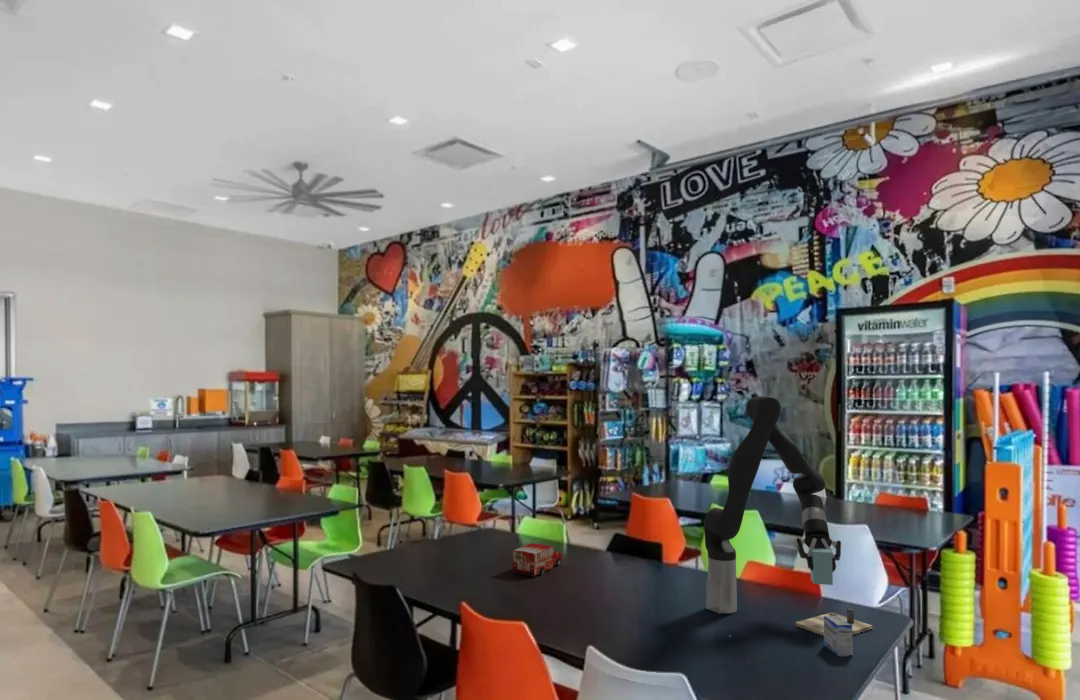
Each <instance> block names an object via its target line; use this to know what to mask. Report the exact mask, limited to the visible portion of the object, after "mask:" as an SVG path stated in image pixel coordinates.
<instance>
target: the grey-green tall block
mask: <svg viewBox="0 0 1080 700" xmlns="http://www.w3.org/2000/svg"><path fill="white" fill-rule="evenodd" d="M831 551H832V550H831ZM831 551H830V549H826V548H811V557H812V562H813V571H811V570H810V581H811V582H812V583H813V585H814V584H815V585H828V586H829V585H830V586H832V585H833V584H834V583H833V581H834V579H833V577H834V576H833V573H834V572H832V553H833V551H832V552H831Z"/></svg>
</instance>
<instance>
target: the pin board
mask: <svg viewBox="0 0 1080 700" xmlns="http://www.w3.org/2000/svg"><path fill="white" fill-rule="evenodd" d="M854 611H855V610H854V608H846V616H845V615H842V614H838V613H835V612H828V613H825V614H821V615H818V616H814V617H810V618H806V619H802V620H798V621H795V627H797V628H799V627H800V629H802V628H803V630H805V629H806V631H808V630H809V631H808V632H810V631H812V632H811V633H813V632H814V634H816V633H817V634H816V635H818V634H820V635H819V636H821V635H823V636H822V637H824V616H838V617H840V618H841V619H843V620H844V621H846V622H847V623H849V624H850V625H852V635H853V636H855V635H854V634H856V633H859V634H861V633H860V632H863V631H866V632H868V631H867V630H869V631H871V630H870V629H872V630H873V625H872V624H870V623H865V622H863V621H859V620H857V619H855V612H854ZM863 633H864V632H863ZM856 635H857V634H856Z"/></svg>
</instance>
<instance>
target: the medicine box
mask: <svg viewBox="0 0 1080 700" xmlns="http://www.w3.org/2000/svg"><path fill="white" fill-rule="evenodd" d="M823 645H824V647H825V646H826V647H827V648H826V647H825V648H826V649H828V650H829V649H830V650H831V651H830V650H829V651H830V652H832V653H833V652H834V653H833V654H835V655H836V656H837V657H849V656H848V655H853V652H854V651H853V649H854V647H853V636H852V625H850V624H849V623H847V622H846V621H844V620H843V619H841V618H840V617H838V616H824V636H823Z"/></svg>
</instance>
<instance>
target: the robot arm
mask: <svg viewBox="0 0 1080 700" xmlns="http://www.w3.org/2000/svg"><path fill="white" fill-rule="evenodd" d="M781 407H782V406H781V403H780V401H779V400H778V398H776V397H774V396H771V395H770V396H769V395H761V396H759V395H758V396H754V397H750V398H749V399H748V401H747V402H746V404H745V412H746V415H747V416H748V418H749V419H750V420H751V421H752V425H751V428H750V429H749V431H748V433H747V435H746V436H745V437H744V439H743V440H742V441H741V442H740V443H739V445H738V446H737V447H736V449H735V451H734V452H733V455H732V457H731V461H730V463H729V466H728V469H727V481H728V483H727V484H728V494H727V497H726V498H727V499H726V501H725V504H724V506H723V508H719V507H714V508H711V509H709V510H708V511H707V513H706V514H705V517H704V522H703V524H704V525H703V527H704V528H703V529H704V545H705V549H706V551H707V579H706V580H705V600H706V601H705V602H706V603H705V605H706V607H705V608H706V610H709V611H712V612H714V613H716V614H719V615H720V614H734V613H736V612H737V611H738V606H737V604H738V599H737V598H738V597H737V595H738V594H737V551H736V548H734V547H733V545H732V544H731V543H732V542H730V540H732V539H734V538H736V536H737V535H738V534H739V532H740V530H741V526H742V522H743V518H744V515H745V509H746V506H747V502H748V499H749V496H750V492H751V490H752V487H753V484H754V482H755V480H756V476H757V473H758V470H759V468H760V465H761V462H762V458H763V455H764V453H765V451H766V448H767V445H768V442H769V444H770V445H771V447H773V449H774V450H775V452H776V454H778V456H779V459H780V460H781V461H782V462H783V464H784V466H785V467H786V469H787V471H788V473H790V474H793V475H794V474H802V475H800V476H797V477H795V478H794V479H793V481H792V488H793V489H794V491H795V493H796V496H797V497H798V500H799V502H800V507H801V515H802V516H801V517H802V527H803V533H804V539H801V538H799V537H798V538H796V541H795V545H796V548H797V552H798V554H799V557H800V558H801V559H805V560H806V562H807V563H806V564H807V568H808V569H809V570H810V572H811V571H813V562H812V557H811V548H826V549H830V551H831V552H832V572H833V573H835V571H836V570H837V569H836V568H837V565H836V561H840V558H841V551H842V541H841V540H837V541H836V540H835V541H834V540H832V539H831V537H830V532H829V526H828V520H827V516H826V514H825V509H824V503H823V500H822V497H821V496H819V495H818V494H817V493H819V492H822V491H824V490H825V488H826V481H825V479H824V476H823V475H822V474H821V473H820V472H819V471H818V470H816V468H814V467H813V466H812V465H811V464H810V463H809V462H808V460H807V459H806V458H805V456H804V455H803V453H802V452H801V450H800V448H799V447H798V445H797V444H796V443H795V442H794V440H792V439H791V438H790V437H789V436H788V435H787V433H785V432H784V431H783V430H782V429H781V428H780V427H779V425H778V424H777V423H778V421H779V418H780V416H781V413H782V412H781V411H782V408H781ZM804 545H806V546H807V548H808V550H807V552H805V549H804ZM831 546H833V549H835V554H834V553H833V551H832V549H831Z"/></svg>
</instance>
